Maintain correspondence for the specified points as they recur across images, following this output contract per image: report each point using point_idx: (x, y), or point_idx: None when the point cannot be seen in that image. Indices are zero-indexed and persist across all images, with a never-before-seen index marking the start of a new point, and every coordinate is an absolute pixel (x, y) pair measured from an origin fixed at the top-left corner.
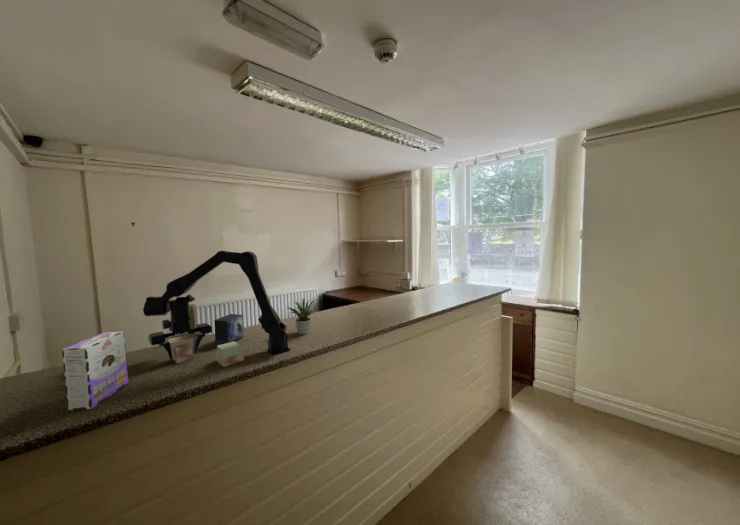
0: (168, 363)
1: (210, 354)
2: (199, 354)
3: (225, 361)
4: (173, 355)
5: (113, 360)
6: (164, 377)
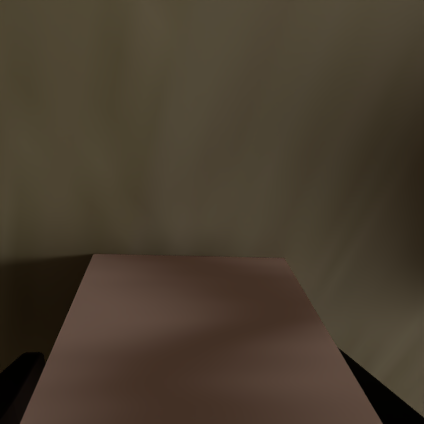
0: (18, 342)
1: (410, 379)
2: (362, 314)
3: None
4: (78, 305)
5: None
6: None
